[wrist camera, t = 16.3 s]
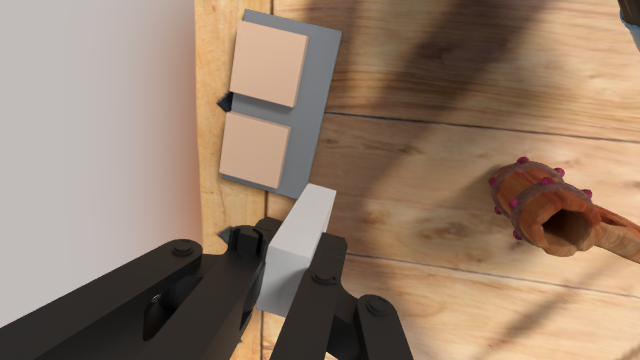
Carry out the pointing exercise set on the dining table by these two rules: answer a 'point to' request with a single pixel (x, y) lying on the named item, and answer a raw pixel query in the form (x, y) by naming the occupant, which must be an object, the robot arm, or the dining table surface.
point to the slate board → (308, 106)
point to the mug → (559, 213)
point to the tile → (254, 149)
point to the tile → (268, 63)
